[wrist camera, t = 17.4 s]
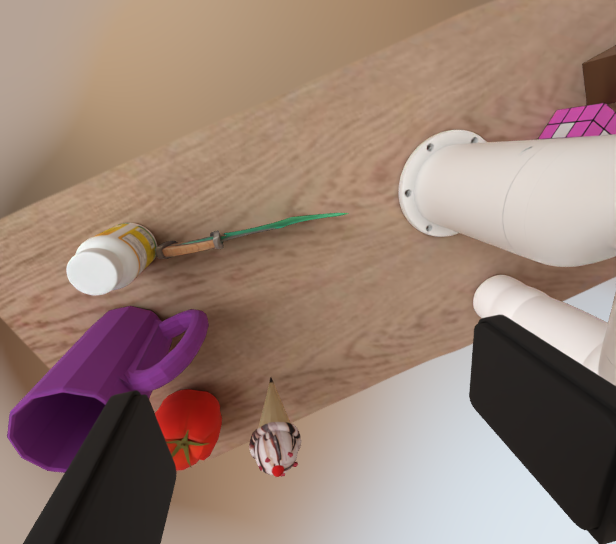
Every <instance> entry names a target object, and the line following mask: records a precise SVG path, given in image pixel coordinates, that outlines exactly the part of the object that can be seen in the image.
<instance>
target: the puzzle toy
mask: <svg viewBox="0 0 616 544" xmlns="http://www.w3.org/2000/svg"><path fill="white" fill-rule="evenodd" d="M613 134H616V112H614V110H612V109H611V108H610V107H609V106H608V105H607V104H606V103H600V104H594V105H588V106H580V107H574V108H567V109H560V110H557V111H556V112H555V114H554V115H553V117H552V119H551V120H550V122H549V123H548V125H547V126H546V128H545V129H544V131H543V132H542V134H541V136H540V137H539V139H556V138H571V137H585V136H601V135H613ZM539 139H538V140H539Z"/></svg>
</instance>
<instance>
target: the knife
mask: <svg viewBox="0 0 616 544" xmlns="http://www.w3.org/2000/svg"><path fill="white" fill-rule="evenodd" d="M345 214H349V213H329V214H317V215H306V216H297V217H291V218H287V219H284V220H281V221H278V222H275V223H271V224H267V225H263V226H259V227H255V228H250V229H246V230H241V231H235V232H229V233H224V235H226V236H220V233H219V231H218V230H217V231H214V232H212V233H210V237H207V238H203V239H197V240H194V241H189V242H182V243H177V242H176V241H168V242H164V243H162V244H161V245H159V246H158V247H157V248H155V253H156V256H157V257H158V258H159V259H163V258H165V259H167V258H170V257H173V256H178V255H184V254H189V253H194V252H199V251H204V250H209V249H213V248H216V249H223V248H224V245H223V242H224V241H227V240H230V239H234V238H237V237H241V236H245V235H249V234H254V233H258V232H263V231H268V230H272V229H278V228H282V227H285V226H288V225H291V224H294V223H298V222H302V221H307V220H313V219H319V218H326V217H334V216H341V215H345Z"/></svg>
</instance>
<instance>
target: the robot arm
mask: <svg viewBox="0 0 616 544" xmlns="http://www.w3.org/2000/svg"><path fill="white" fill-rule="evenodd" d="M427 146H428V149H427ZM405 191H406V194H405ZM399 201H400V206H401V209H402V212H403V214H404V216H405V217H406V219H407V220H408V222H409V223H410V224H411V225H412V226H413V227H414V228H416V229H417V230H419V231H421V232H423V233H425V234H427V235H431V236H436V237H446V236H451V235H455V234H458V233H461V234H464V235H466V236H469V237H472V238H474V239H477V240H480V241H482V242H485V243H488V244H490V245H493V246H496V247H498V248H501V249H504V250H506V251H509V252H512V253H514V254H517V255H520V256H522V257H525V258H528V259H531V260H534V261H536V262H539V263H543V264H546V265H551V266H558V267H574V266H582V265H587V264H592V263H596V262H599V261H603V260H606V259H609V258H612V257H615V256H616V134H613V135H601V136H585V137H571V138H556V139H539V140H521V141H504V142H486V141H485V140H484V139H483V138H482V137H480V136H479V135H477V134H475V133H473V132H471V131H466V130H450V131H444V132H441V133H438V134H435V135H433V136H432V137H430V138H428V139H427V140H425V141H424V142H423V143H422V144H420V145H419V146H418V147H417V148H416V149H415V151H414V152H413V153H412V154H411V155H410V157H409V159H408V160H407V162H406V164H405V166H404V169H403V171H402V174H401V177H400V183H399ZM426 227H427V228H426ZM469 397H470V401H471V404H472V405H473V407H474V408H475V410H476V411H477V412H478V413H479V414H480V415H481V416H482V418H483V419H484V420H485V421H486V422H487V424H488V425H489V426H490V427H491V428H492V429H493V430H494V432H496V434H497V435H498V436H499V437H500V438H501V439H502V441H503V442H504V443H505V444H506V445H507V446H508V447H509V449H510V450H511V451H512V452H513V453H514V454H515V456H516V457H517V458H518V459H519V460H520V461H521V462H522V464H523V465H524V466H525V467H526V468H527V469H528V470H529V472H530V473H531V474H532V475H533V476H534V477H535V478H536V480H537V481H538V482H539V483H540V484H541V485H542V487H543V488H544V489H545V490H546V491H547V492H548V493H549V495H551V497H552V498H553V499H554V500H555V501H556V502H557V504H558V505H559V506H560V507H561V508H562V509H563V511H564V512H565V513H566V514H567V515H568V516H569V517H570V519H571V520H572V521H573V522H574V523H575V524H576V525H577V526H579V527H580V528H581V529H584V530H587V531H588V532H589V533H590V534H591V535H592V536H593V538H594V539H595V540H596V541H597V542H598V543H599V544H607V543H610V542H613V541H616V293H615V297H614V301H613V305H612V309H611V313H610V317H609V321H608V325H607V329H606V333H605V337H604V341H603V344H602V348H601V353H600V359H599V366H598V375H597V374H596V373H594V372H593V371H591V370H590V369H588V368H586V367H585V366H583V365H582V364H580V363H579V362H577V361H575V360H574V359H572V358H571V357H569V356H568V355H566V354H564V353H563V352H561V351H560V350H558V349H557V348H555V347H553V346H552V345H550V344H549V343H547V342H546V341H544V340H542V339H541V338H539V337H538V336H536V335H535V334H533V333H531V332H530V331H528V330H527V329H525V328H524V327H522V326H520V325H519V324H517V323H516V322H514V321H513V320H511V319H509V318H508V317H506V316H504V315H495V316H490V317H485V318H482V319H480V320H479V322H478V324H477V325H476V326H475V328H474V339H473V353H472V366H471V380H470V393H469ZM175 480H176V466H175V463H174V460H173V458H172V455H171V453H170V450H169V448H168V445H167V443H166V440H165V438H164V435H163V433H162V431H161V428H160V426H159V423H158V421H157V418H156V416H155V413H154V411H153V408H152V406H151V403H150V401H149V398H148V396H147V395H145V394H143V395H141V394H140V392H139V391H136V390H135V391H130V392H125V393H121V394H116V395H113V396H111V397H110V399H109V400H108V402H107V403H106V405H105V407H104V408H103V410H102V412H101V413H100V415H99V417H98V418H97V420H96V422H95V423H94V425H93V427H92V429H91V430H90V432H89V434H88V435H87V437H86V439H85V440H84V442H83V444H82V445H81V447H80V449H79V450H78V452H77V454H76V455H75V457H74V459H73V460H72V462H71V464H70V465H69V467H68V469H67V470H66V472H65V474H64V476H63V477H62V479H61V481H60V483H59V484H58V486H57V487H56V489H55V491H54V492H53V494H52V496H51V497H50V499H49V501H48V503H47V504H46V506H45V507H44V509H43V511H42V512H41V514H40V516H39V518H38V519H37V521H36V522H35V524H34V526H33V528H32V529H31V531H30V533H29V534H28V536H27V538H26V539H25V541H24V543H23V544H160V543H161V539H162V534H163V531H164V526H165V522H166V518H167V514H168V510H169V505H170V502H171V498H172V494H173V489H174V485H175Z"/></svg>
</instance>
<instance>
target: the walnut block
mask: <svg viewBox="0 0 616 544" xmlns="http://www.w3.org/2000/svg"><path fill="white" fill-rule="evenodd" d="M582 65H583V73H584V81H585V90H586V98H587V106H588V105H594V104H600V103H606V104H608V103H615V102H616V45H615V46H614V47H612V48H610V49H608V50H606V51H605V52H603V53H601V54H599V55H597V56H596V57H594V58H592V59H590V60H588V61H587V62H585V63H583V64H582Z"/></svg>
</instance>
